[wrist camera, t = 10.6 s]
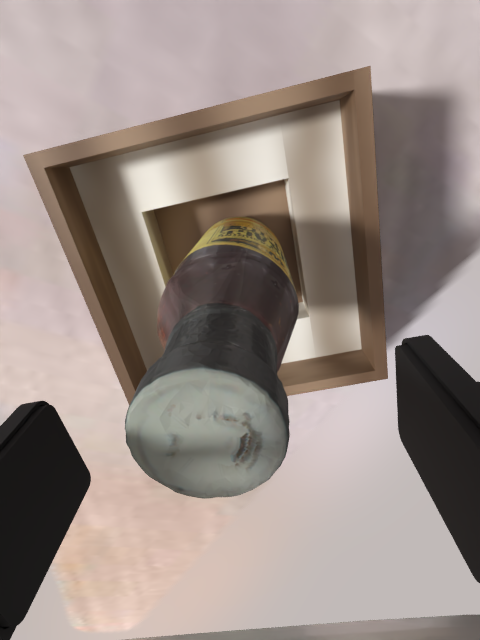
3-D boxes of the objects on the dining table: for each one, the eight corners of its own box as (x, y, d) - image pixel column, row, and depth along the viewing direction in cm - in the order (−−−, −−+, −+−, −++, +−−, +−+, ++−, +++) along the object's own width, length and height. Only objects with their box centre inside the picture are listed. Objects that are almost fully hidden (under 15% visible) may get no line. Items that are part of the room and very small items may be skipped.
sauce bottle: (297, 253, 26) (414, 452, 8) (241, 309, 28) (237, 570, 10) (233, 190, 25) (204, 270, 7) (178, 255, 27) (36, 454, 8)
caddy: (335, 92, 23) (370, 65, 17) (357, 332, 30) (387, 378, 24) (80, 157, 25) (23, 155, 18) (157, 370, 32) (136, 421, 26)
